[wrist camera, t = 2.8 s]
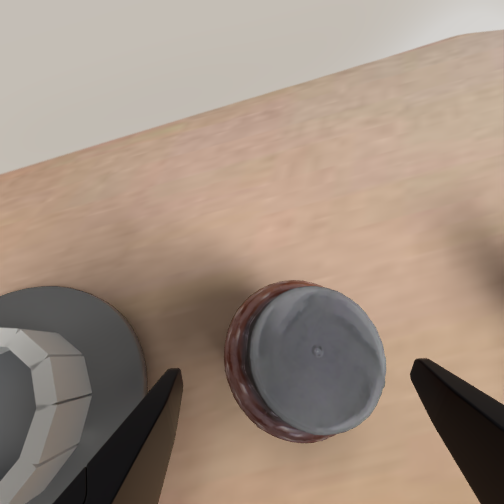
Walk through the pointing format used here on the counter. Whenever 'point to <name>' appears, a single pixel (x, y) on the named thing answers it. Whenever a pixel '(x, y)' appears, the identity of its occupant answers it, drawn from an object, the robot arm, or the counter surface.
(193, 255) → the counter surface
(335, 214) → the counter surface
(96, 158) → the counter surface
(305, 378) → the supplement bottle
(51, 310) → the ring mount
